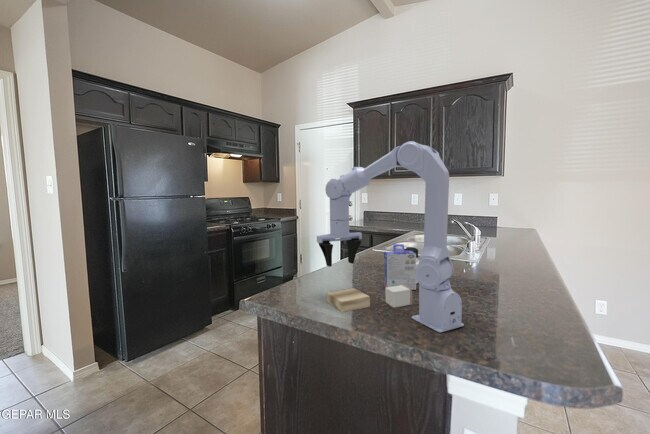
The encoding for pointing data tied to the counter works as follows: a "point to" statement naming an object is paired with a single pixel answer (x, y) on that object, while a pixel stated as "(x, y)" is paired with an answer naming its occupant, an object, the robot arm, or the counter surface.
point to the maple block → (348, 299)
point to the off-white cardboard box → (398, 296)
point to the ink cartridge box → (400, 267)
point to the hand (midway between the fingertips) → (340, 264)
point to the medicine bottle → (416, 255)
